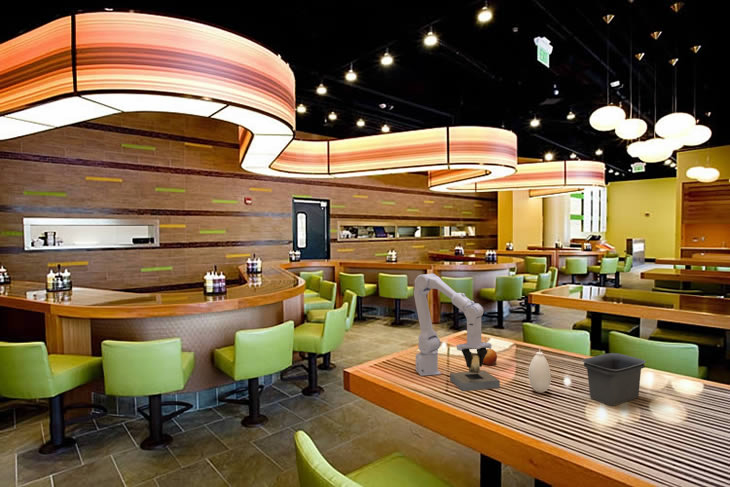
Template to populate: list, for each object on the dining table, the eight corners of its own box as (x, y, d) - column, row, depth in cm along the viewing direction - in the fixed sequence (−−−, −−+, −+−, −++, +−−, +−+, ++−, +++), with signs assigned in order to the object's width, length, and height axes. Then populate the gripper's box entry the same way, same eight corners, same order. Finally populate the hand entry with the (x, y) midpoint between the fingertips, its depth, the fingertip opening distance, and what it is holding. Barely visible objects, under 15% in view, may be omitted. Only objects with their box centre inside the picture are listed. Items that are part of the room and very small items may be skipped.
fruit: (503, 363, 183) (494, 348, 183) (488, 371, 183) (480, 357, 183) (497, 357, 191) (489, 343, 191) (484, 366, 191) (475, 352, 191)
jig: (462, 391, 153) (462, 383, 153) (449, 380, 165) (449, 373, 165) (499, 387, 156) (499, 380, 156) (484, 377, 168) (484, 370, 168)
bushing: (471, 373, 158) (471, 356, 158) (466, 369, 162) (466, 352, 162) (481, 372, 159) (481, 355, 159) (476, 369, 163) (476, 352, 163)
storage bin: (614, 411, 135) (614, 370, 135) (573, 395, 149) (573, 357, 149) (650, 399, 144) (650, 361, 144) (608, 385, 158) (608, 350, 158)
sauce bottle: (553, 396, 147) (553, 349, 147) (531, 395, 149) (531, 348, 149) (547, 388, 155) (547, 343, 155) (526, 387, 156) (527, 342, 156)
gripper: (461, 337, 155) (462, 371, 155) (495, 335, 158) (495, 368, 158) (454, 332, 162) (454, 365, 162) (486, 331, 165) (486, 363, 165)
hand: (474, 366), depth 160 cm, fingers closed on bushing, 4 cm apart
